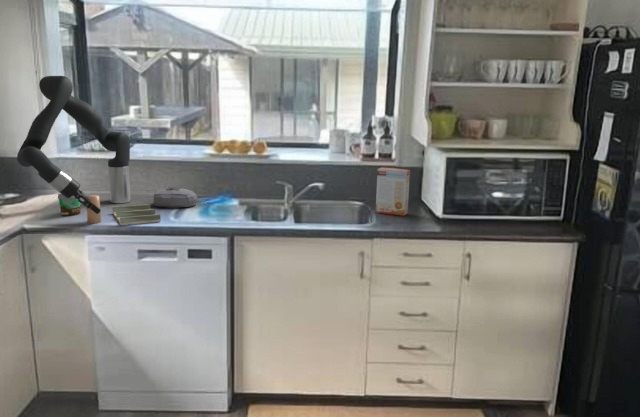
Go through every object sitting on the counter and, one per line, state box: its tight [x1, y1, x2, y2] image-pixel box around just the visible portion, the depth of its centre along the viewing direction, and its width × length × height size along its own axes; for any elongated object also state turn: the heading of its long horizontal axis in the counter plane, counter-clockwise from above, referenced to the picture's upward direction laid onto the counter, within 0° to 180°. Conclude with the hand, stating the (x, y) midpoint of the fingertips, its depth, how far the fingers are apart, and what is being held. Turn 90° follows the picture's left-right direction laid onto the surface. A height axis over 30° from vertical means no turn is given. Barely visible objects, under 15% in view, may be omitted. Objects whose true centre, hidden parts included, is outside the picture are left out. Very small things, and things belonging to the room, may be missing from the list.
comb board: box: [111, 203, 161, 226], centre depth 244 cm, size 21×16×3 cm
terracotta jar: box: [86, 194, 102, 225], centre depth 234 cm, size 5×5×11 cm
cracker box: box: [375, 167, 411, 217], centre depth 262 cm, size 14×6×21 cm, turn 65°
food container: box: [57, 188, 82, 217], centre depth 246 cm, size 12×6×10 cm, turn 168°
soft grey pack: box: [152, 186, 198, 209], centre depth 268 cm, size 15×8×20 cm
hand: (98, 210), depth 235 cm, fingers closed on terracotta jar, 5 cm apart
